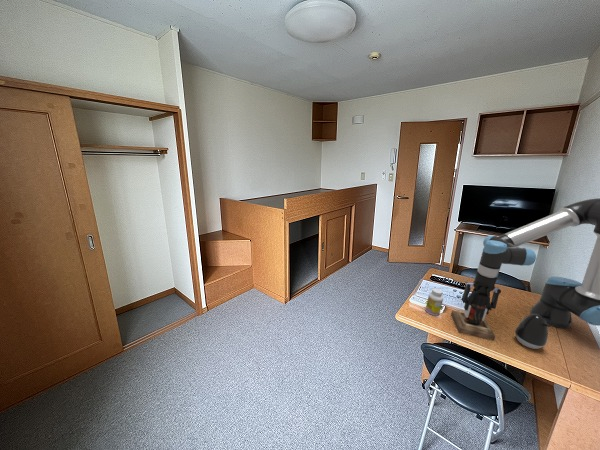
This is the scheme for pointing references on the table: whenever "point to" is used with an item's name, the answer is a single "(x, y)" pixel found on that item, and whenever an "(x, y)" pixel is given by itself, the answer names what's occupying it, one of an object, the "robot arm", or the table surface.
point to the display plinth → (472, 326)
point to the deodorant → (477, 308)
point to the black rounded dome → (533, 331)
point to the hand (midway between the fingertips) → (473, 317)
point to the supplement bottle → (434, 302)
